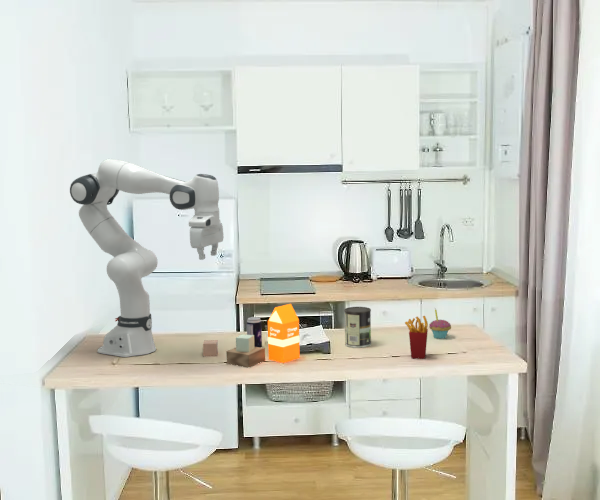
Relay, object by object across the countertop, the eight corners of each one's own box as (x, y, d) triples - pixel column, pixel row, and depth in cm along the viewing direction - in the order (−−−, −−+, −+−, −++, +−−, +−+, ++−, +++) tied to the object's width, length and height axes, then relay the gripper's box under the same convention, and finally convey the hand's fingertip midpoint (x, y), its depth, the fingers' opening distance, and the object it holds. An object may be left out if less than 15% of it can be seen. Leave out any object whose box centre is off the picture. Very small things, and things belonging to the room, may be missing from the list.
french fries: (427, 359, 276) (427, 319, 274) (404, 358, 278) (404, 318, 276) (428, 353, 284) (428, 313, 282) (406, 352, 286) (406, 313, 284)
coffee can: (370, 340, 304) (369, 306, 302) (372, 347, 294) (371, 311, 292) (344, 341, 304) (343, 306, 302) (345, 348, 294) (344, 312, 292)
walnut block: (226, 364, 277) (226, 351, 276) (243, 357, 285) (242, 344, 284) (249, 368, 271) (248, 354, 271) (265, 361, 280) (264, 348, 279)
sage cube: (236, 351, 276) (235, 337, 275) (242, 347, 280) (241, 334, 280) (248, 352, 274) (248, 338, 273) (254, 348, 279) (254, 335, 278)
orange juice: (268, 359, 281) (266, 306, 278) (285, 354, 287) (283, 302, 284) (283, 363, 276) (282, 309, 273) (300, 357, 282) (299, 304, 279)
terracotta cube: (203, 356, 287) (203, 343, 286) (204, 353, 292) (204, 340, 291) (216, 356, 287) (216, 343, 286) (217, 352, 292) (217, 340, 291)
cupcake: (429, 339, 303) (429, 310, 302) (429, 334, 312) (429, 305, 310) (451, 340, 302) (451, 310, 300) (450, 334, 310) (450, 305, 309)
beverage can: (260, 350, 293) (259, 320, 291) (245, 350, 294) (244, 319, 292) (263, 346, 298) (262, 316, 297) (249, 346, 299) (248, 316, 298)
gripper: (211, 216, 286) (212, 252, 288) (186, 222, 267) (187, 261, 269) (227, 216, 284) (228, 253, 286) (202, 222, 265) (203, 262, 267)
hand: (208, 257), depth 277 cm, fingers open, 8 cm apart
